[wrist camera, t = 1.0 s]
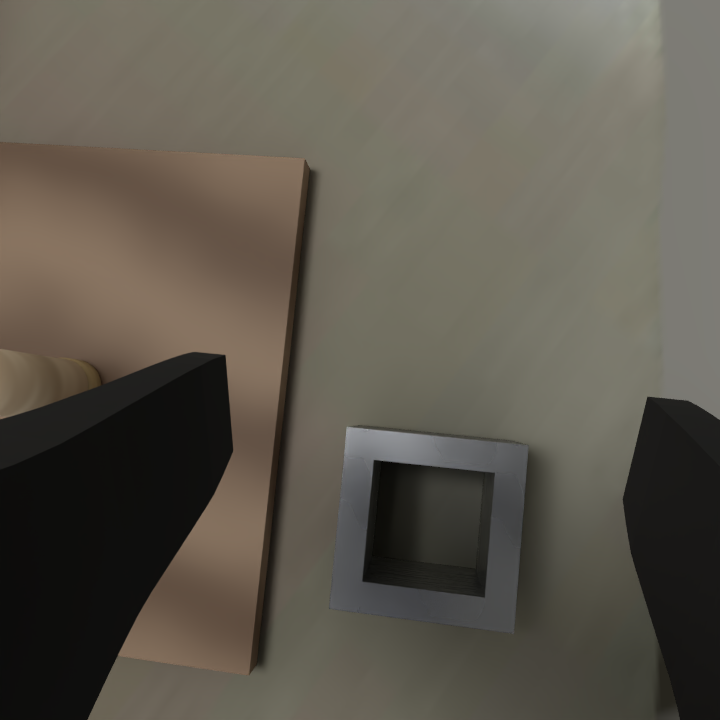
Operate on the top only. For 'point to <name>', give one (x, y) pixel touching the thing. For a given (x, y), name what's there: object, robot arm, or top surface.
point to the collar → (418, 579)
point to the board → (163, 339)
